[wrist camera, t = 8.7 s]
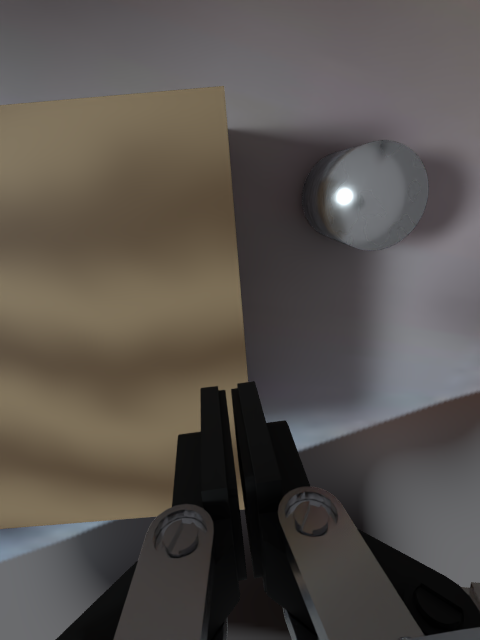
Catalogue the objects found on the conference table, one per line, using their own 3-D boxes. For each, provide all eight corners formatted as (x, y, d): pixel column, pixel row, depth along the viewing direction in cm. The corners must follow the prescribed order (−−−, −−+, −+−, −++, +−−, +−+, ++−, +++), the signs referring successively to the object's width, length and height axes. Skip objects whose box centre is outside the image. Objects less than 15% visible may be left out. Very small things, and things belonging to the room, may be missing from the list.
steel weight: (300, 154, 25) (326, 144, 20) (384, 147, 25) (433, 136, 20) (302, 241, 27) (326, 255, 22) (379, 234, 28) (423, 245, 22)
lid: (-183, 126, 15) (-205, 122, 14) (224, 91, 15) (224, 85, 14) (-13, 519, 23) (-22, 530, 22) (257, 497, 23) (258, 508, 22)
